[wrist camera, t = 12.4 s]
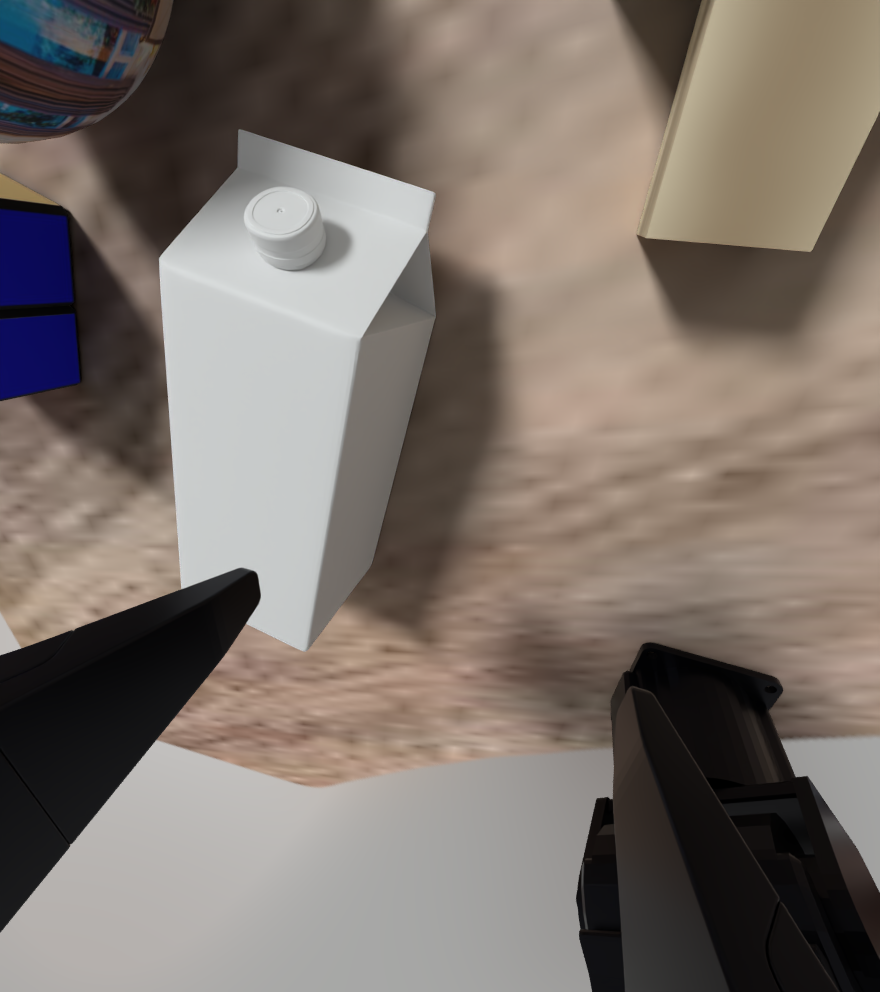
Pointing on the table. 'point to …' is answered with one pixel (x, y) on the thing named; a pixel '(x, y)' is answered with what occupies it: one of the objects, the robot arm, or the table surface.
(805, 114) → the beige rectangular block
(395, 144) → the table surface
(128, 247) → the table surface
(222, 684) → the table surface
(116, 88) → the ornament
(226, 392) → the milk carton
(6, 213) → the puzzle cube
